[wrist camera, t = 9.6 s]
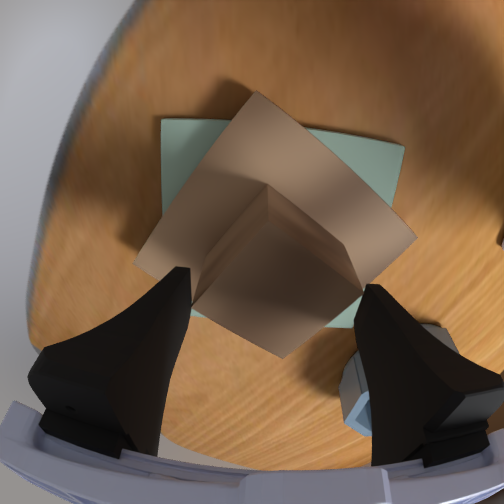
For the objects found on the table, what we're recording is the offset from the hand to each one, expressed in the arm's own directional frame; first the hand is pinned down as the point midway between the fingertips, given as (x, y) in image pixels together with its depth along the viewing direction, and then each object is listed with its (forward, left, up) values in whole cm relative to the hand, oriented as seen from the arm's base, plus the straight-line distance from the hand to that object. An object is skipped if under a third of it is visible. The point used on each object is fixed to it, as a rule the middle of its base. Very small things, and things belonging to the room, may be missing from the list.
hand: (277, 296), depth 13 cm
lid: (0, 0, -5) cm, 5 cm away
